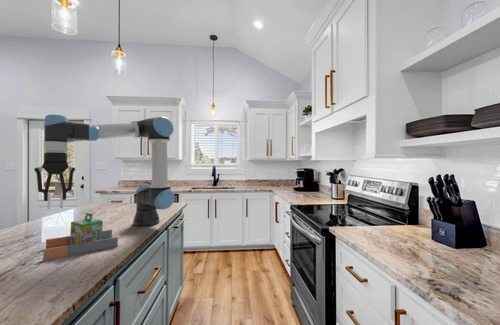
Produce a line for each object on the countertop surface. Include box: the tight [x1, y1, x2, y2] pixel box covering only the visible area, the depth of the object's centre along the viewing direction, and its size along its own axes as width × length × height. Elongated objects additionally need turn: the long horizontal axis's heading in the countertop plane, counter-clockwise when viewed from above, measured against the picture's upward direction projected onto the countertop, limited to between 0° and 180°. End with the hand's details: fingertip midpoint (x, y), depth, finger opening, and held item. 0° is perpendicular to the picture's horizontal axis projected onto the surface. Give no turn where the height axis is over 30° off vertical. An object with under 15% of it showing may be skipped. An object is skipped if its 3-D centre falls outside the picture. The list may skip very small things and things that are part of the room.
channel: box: [43, 229, 119, 261], centre depth 105 cm, size 25×16×4 cm, turn 129°
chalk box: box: [69, 212, 104, 245], centre depth 106 cm, size 9×9×15 cm
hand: (55, 208), depth 99 cm, fingers open, 3 cm apart
